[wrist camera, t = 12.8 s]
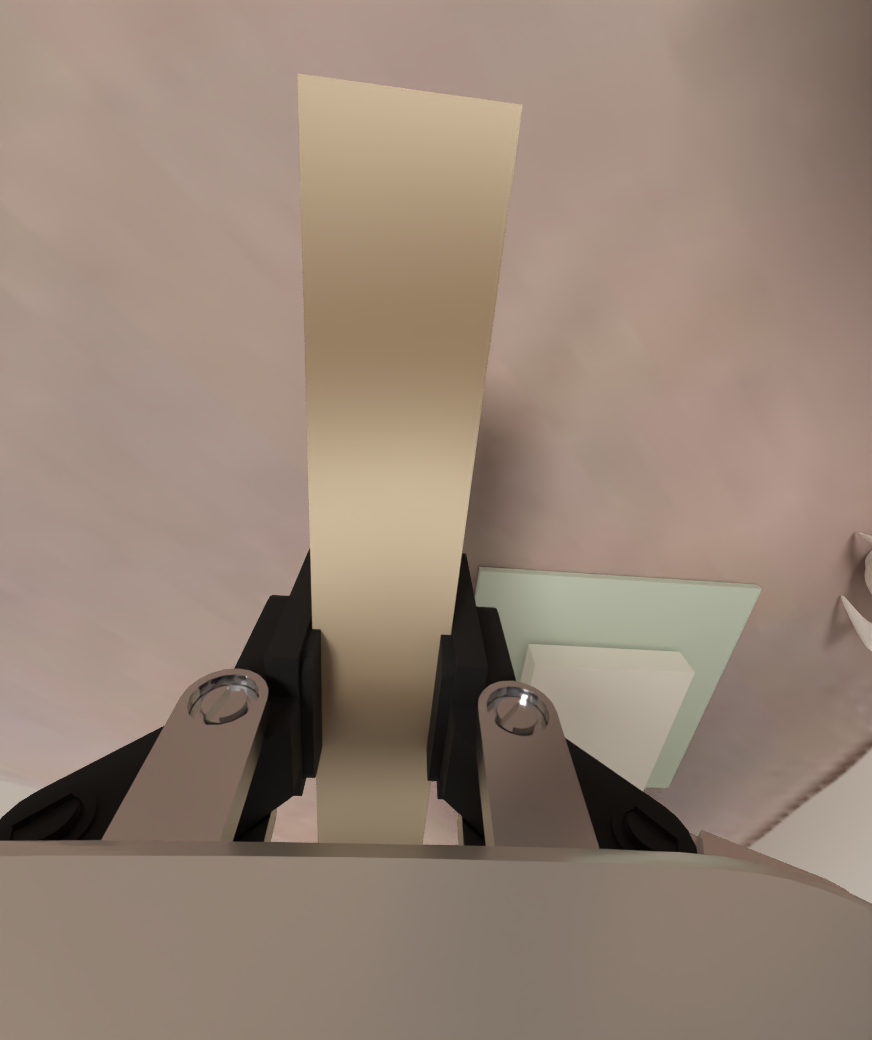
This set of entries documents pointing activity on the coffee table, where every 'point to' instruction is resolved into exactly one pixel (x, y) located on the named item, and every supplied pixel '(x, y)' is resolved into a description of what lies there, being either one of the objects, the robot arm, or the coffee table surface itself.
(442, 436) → the tan wavy bar
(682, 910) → the robot arm
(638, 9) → the coffee table surface
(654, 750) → the cream tile
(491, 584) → the sage mat
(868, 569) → the rocket toy
